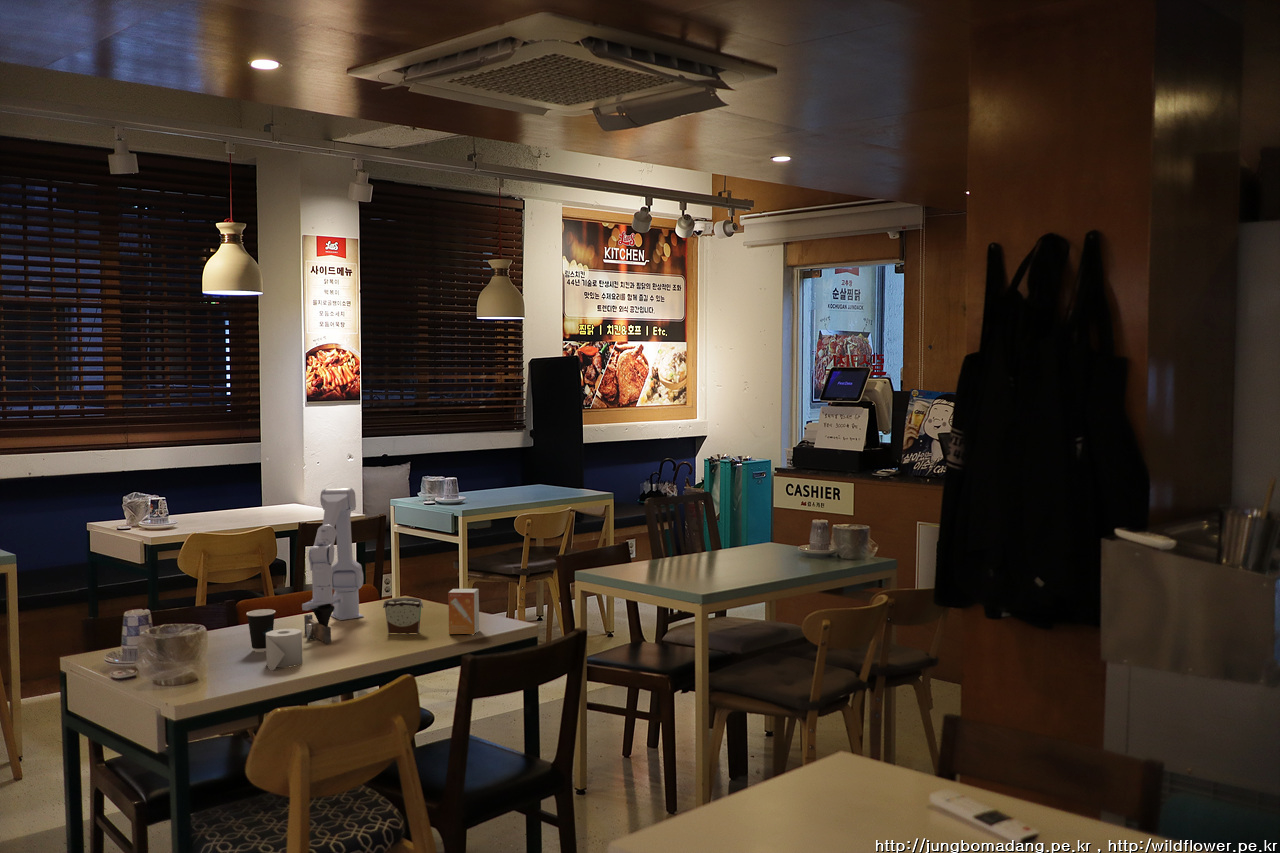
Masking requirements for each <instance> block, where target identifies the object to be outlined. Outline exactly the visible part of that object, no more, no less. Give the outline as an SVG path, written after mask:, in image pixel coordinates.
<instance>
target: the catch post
mask: <svg viewBox="0 0 1280 853" xmlns="http://www.w3.org/2000/svg"><path fill="white" fill-rule="evenodd" d="M306 628H307V634H306V641H311V640H310V639H313V640H315V636H314V627H313V624H306Z"/></svg>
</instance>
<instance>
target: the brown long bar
mask: <svg viewBox="0 0 1280 853" xmlns="http://www.w3.org/2000/svg"><path fill="white" fill-rule="evenodd" d="M308 624H313V627H314V638H317V639H318V640H320V641H322V642H323V643H324V644H331V643H332V629H331V626H328V627H325V626H323V625H322V624H320V623H318V621H316V620H315V619H309V620H308Z"/></svg>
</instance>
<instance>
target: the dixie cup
mask: <svg viewBox="0 0 1280 853" xmlns="http://www.w3.org/2000/svg"><path fill="white" fill-rule="evenodd" d="M275 613H277V612H276V610H274V609H271V608H270V609H269V608H267V609H254V610H251V611H247V612H246V616H247V622H248V629H249V636H250V642H251V644H250V645H251V648H252V650H253V652H254V651H255V652H254V653H265V652H264V651H266V633H267V632H270V631H273V630H274V624H275Z"/></svg>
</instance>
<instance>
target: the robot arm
mask: <svg viewBox="0 0 1280 853" xmlns="http://www.w3.org/2000/svg"><path fill="white" fill-rule="evenodd" d="M319 497H320V498H319V499H320V500H319V502H320V505H321V507H322V509H323V511H324V513H323V519H322V525H320V526H319V527H318V528H317V532H316V536H315V539H314V543H313V546H312V547H310V548H309V550H308V562H309V568H310V571H311V576H312V578H311V579H312V581H311V583H312V587H311V588H312V599H311V600H309V601H307V602H305V603H301V608H302V610H301V611H310V610H311V611H312V612H313V614H314V616H315V618H316V620H317V622H318V623H320V624H322V625H323V626H325V627H329V623H330V620H331V617H332V618H333V619H337V620H339V621H344V620H350V619H359V618H364V615H363V614H362V613H360V598H359V589H361V588H362V587H363V585H364V572H363V567H362V564H361V563H359V562H358V561H356V560H354V559H353V542H352V541H353V540H352V538H353V537H352V520H351V514H352V512H354V511H356V507H357V505H356V504H357V503H356V502H357V499H356V498H357V497H356V492H355V490H354V489H353V487H349V488H348V487H347V488H346V487H345V488H325V487H324V488H323V489H322V490H321V491H320V496H319ZM335 542H336V554H337V561H336V562H335V563H334V559H335V546H334V545H335ZM332 564H333V565H332Z"/></svg>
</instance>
